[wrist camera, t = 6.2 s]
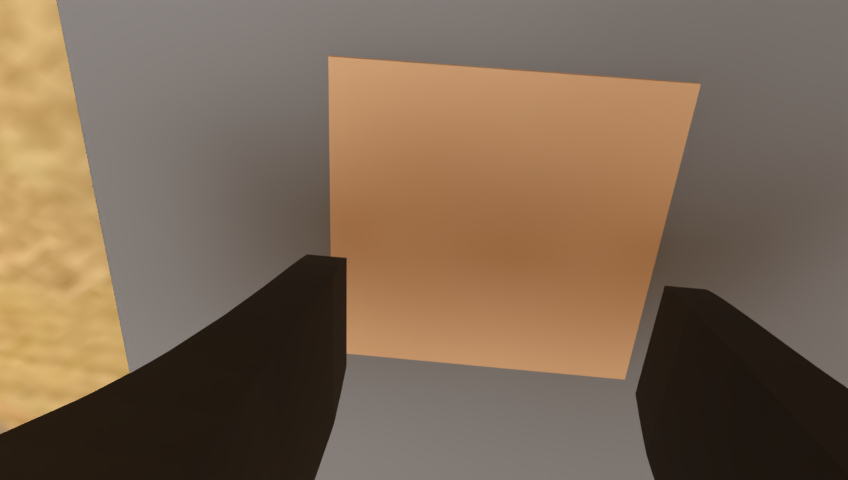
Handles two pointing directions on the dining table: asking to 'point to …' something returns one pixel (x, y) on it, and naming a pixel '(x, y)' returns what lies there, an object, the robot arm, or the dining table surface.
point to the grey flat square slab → (474, 199)
